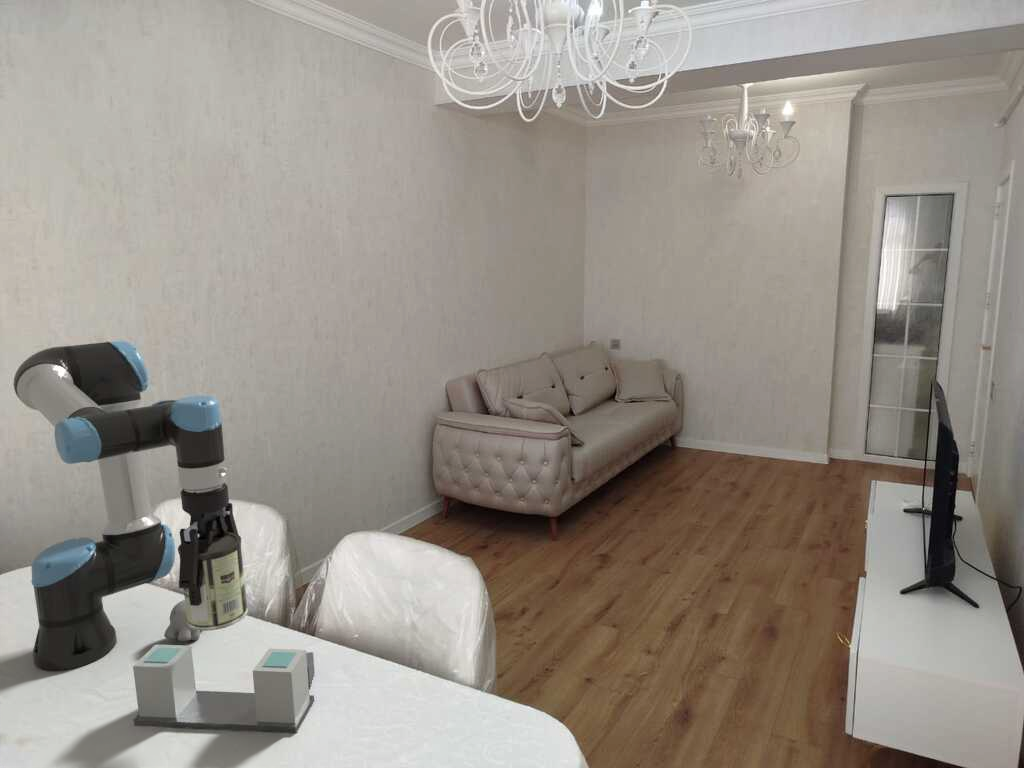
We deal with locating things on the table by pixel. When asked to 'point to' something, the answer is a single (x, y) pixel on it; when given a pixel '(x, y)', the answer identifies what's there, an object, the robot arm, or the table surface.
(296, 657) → the block
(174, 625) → the chubby cartoon animal
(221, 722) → the rail plate
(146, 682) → the mounted module
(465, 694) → the table surface
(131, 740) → the table surface
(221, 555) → the coffee can
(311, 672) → the charcoal block
